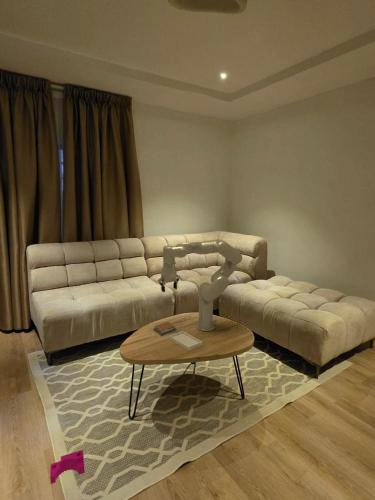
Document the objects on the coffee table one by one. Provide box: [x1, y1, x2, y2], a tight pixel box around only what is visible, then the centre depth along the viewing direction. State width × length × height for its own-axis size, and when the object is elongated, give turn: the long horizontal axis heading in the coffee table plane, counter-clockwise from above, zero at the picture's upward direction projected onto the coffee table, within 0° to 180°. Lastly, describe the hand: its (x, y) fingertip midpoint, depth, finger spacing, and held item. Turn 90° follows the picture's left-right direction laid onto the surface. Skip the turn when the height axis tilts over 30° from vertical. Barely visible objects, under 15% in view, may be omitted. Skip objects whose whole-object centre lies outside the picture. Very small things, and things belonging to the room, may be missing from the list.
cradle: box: [168, 330, 204, 352], centre depth 184 cm, size 11×19×2 cm, turn 40°
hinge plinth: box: [153, 326, 177, 337], centre depth 199 cm, size 12×10×3 cm
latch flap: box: [154, 321, 176, 332], centre depth 199 cm, size 11×8×1 cm
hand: (169, 290), depth 196 cm, fingers open, 9 cm apart
